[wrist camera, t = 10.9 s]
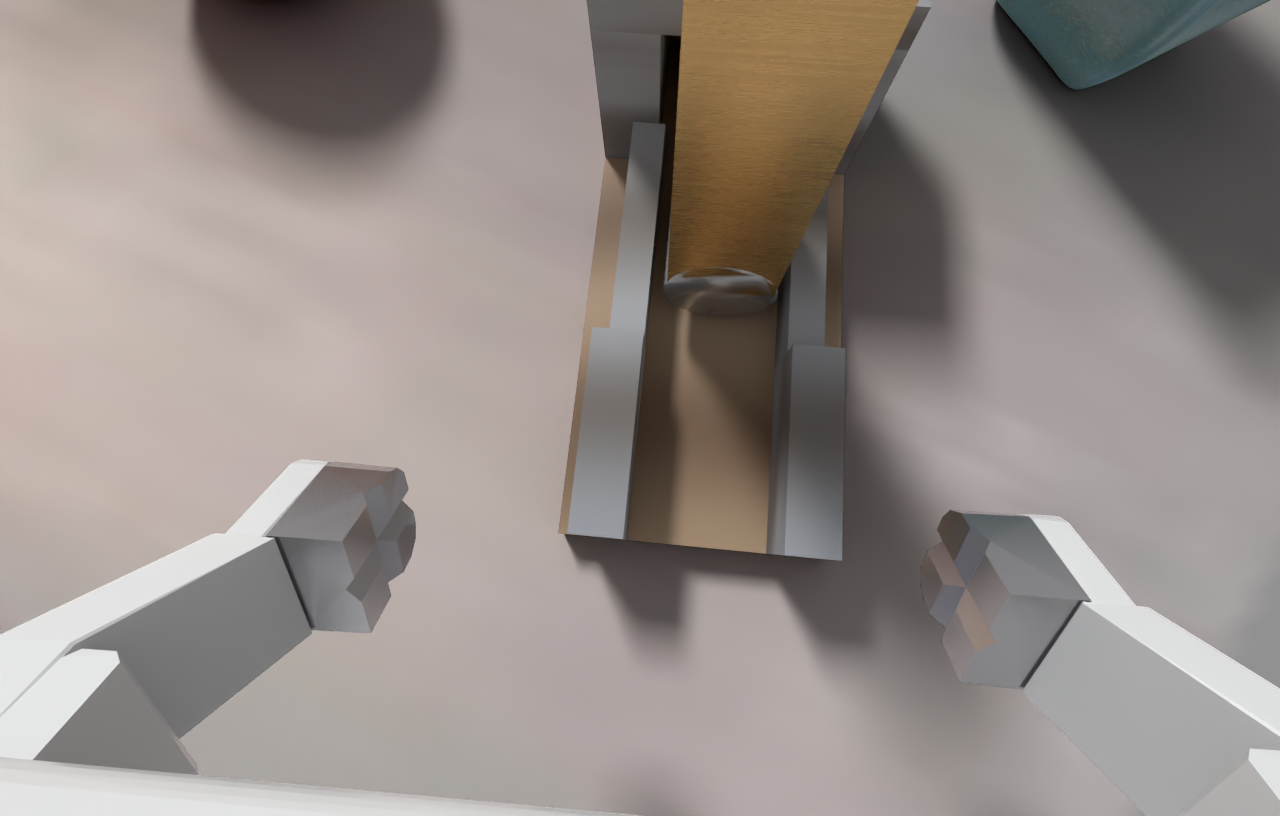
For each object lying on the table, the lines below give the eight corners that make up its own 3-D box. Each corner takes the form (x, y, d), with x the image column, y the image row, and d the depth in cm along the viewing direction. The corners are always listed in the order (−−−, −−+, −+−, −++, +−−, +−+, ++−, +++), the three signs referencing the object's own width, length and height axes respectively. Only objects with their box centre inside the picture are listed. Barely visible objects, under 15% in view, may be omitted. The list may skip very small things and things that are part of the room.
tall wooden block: (765, 320, 18) (964, -71, 7) (661, 311, 18) (679, -86, 7) (779, 50, 20) (943, -589, 9) (686, 44, 20) (732, -592, 9)
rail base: (826, 559, 18) (942, 570, 11) (563, 533, 18) (506, 526, 11) (838, 49, 22) (926, -186, 15) (624, 36, 22) (612, -201, 15)
